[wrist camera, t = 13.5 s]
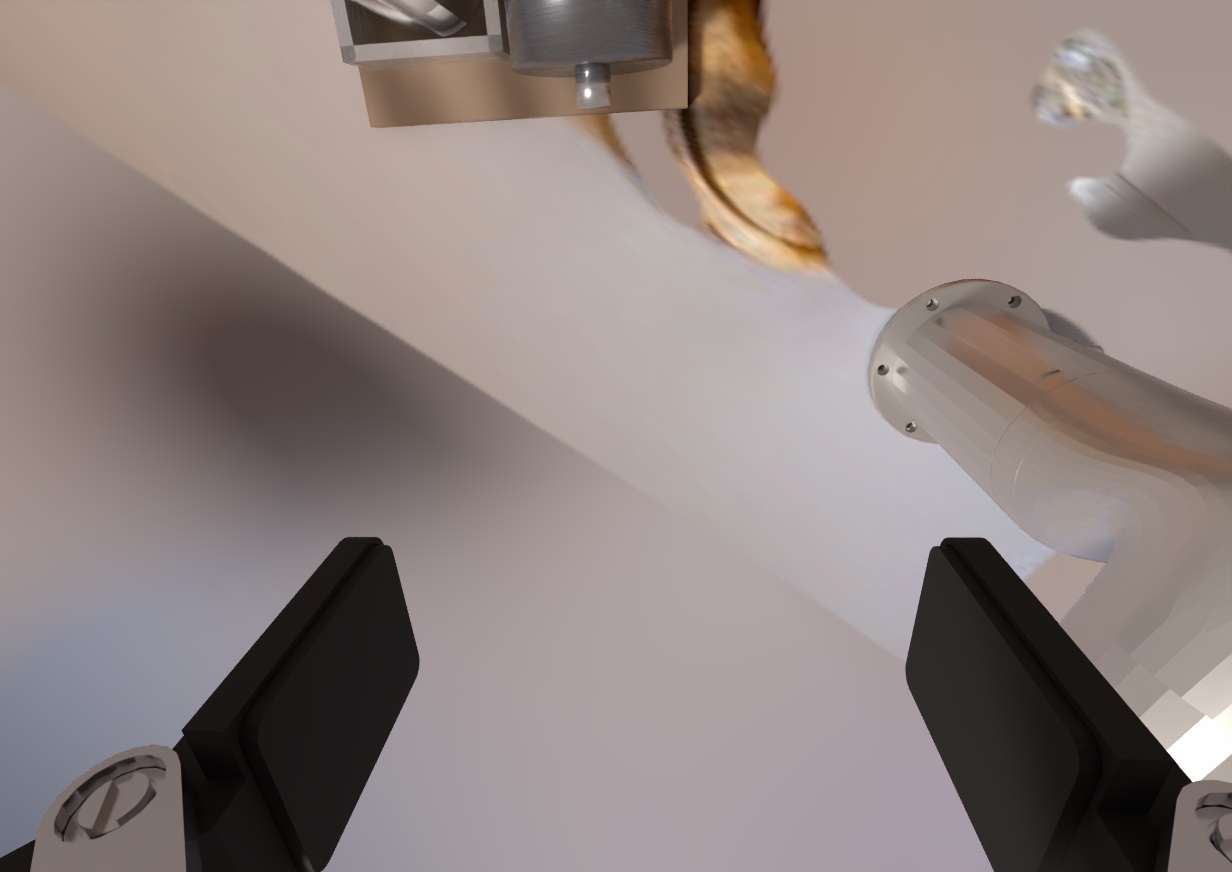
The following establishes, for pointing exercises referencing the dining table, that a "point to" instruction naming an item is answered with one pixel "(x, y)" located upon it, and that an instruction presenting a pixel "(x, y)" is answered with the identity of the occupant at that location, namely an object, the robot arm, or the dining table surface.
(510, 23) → the motor mount
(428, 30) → the silver tall cylinder
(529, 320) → the dining table surface
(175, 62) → the dining table surface
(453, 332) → the dining table surface
